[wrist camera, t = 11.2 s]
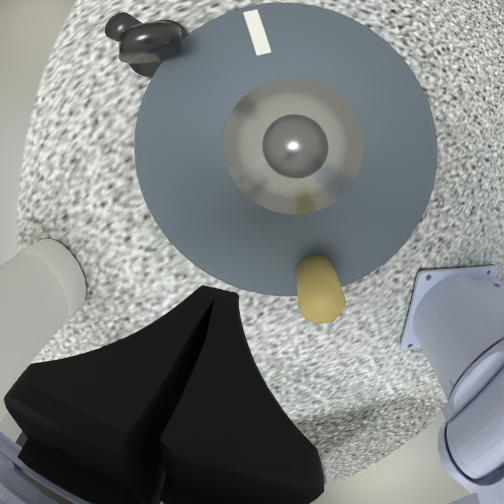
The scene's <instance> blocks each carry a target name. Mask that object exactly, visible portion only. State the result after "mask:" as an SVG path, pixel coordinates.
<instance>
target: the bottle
mask: <svg viewBox="0 0 504 504" xmlns="http://www.w3.org/2000/svg"><path fill="white" fill-rule="evenodd" d="M86 291H87V289H86V283H85V277H84V275H83V272H82V270H81V268H80V266H79V263H78V262H77V260H76V259H75V258H74V256H73V255H72V253H71V252H70V251H69V250H68V249H67V248H65V247H64V246H63V245H62V244H61V243H59V242H57V241H54V240H52V239H42V240H40V241H38V242H37V243H35V244H32V245H30V246H28V247H26V248H25V249H24V250H22V251H21V252H20V253H19V254H18V255H16V256H15V257H13V258H12V259H10V260H9V261H7V262H6V263H4V264H3V265H1V266H0V401H1V400H2V398H3V397H4V396H5V394H6V393H7V392H8V390H9V389H10V388H11V386H12V385H13V384H14V383H15V381H16V380H17V379H18V378H19V376H20V375H21V374H22V373H23V371H24V370H25V369H26V368H27V366H28V365H29V364H30V363H31V362H32V360H33V359H34V358H35V357H36V356H37V354H38V353H39V352H40V351H41V350H42V349H43V347H44V346H45V345H46V344H47V343H48V342H49V341H50V339H51V338H52V337H53V336H54V335H55V334H56V333H57V332H58V330H59V329H60V328H61V327H62V326H63V325H64V324H66V323H67V322H68V321H69V320H70V319H71V318H72V317H73V315H74V314H75V313H76V311H77V310H78V309H79V308H80V307H81V305H82V304H83V302H84V301H85V298H86Z"/></svg>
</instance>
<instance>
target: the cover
mask: <svg viewBox="0 0 504 504" xmlns="http://www.w3.org/2000/svg"><path fill="white" fill-rule="evenodd" d="M223 148H224V156H225V161H226V164H227V167H228V170H229V172H230V174H231V176H232V178H233V180H234V181H235V183H236V184H237V186H238V187H239V188H240V189H241V190H242V191H243V193H244V194H246V195H247V196H248V197H249V198H250V199H251V200H253V201H254V202H256V203H257V204H259V205H261V206H263V207H265V208H267V209H270V210H273V211H276V212H280V213H286V214H305V213H311V212H315V211H318V210H321V209H323V208H325V207H328V206H329V205H331V204H333V203H334V202H336V201H337V200H338V199H340V198H341V197H342V196H343V195H344V194H345V193H346V192H347V191H348V190H349V188H350V187H351V186H352V185H353V183H354V181H355V179H356V178H357V176H358V173H359V171H360V168H361V164H362V161H363V153H364V142H363V135H362V131H361V127H360V124H359V122H358V120H357V117H356V116H355V114H354V112H353V111H352V109H351V108H350V106H349V105H348V104H347V103H346V101H345V100H344V99H343V98H341V97H340V96H339V95H338V94H337V93H336V92H334V91H333V90H331V89H330V88H328V87H326V86H324V85H322V84H320V83H317V82H315V81H311V80H307V79H301V78H282V79H276V80H273V81H269V82H266V83H264V84H262V85H259V86H258V87H256V88H254V89H253V90H251V91H250V92H249V93H247V94H246V95H245V96H244V97H243V98H242V99H241V100H240V101H239V102H238V103H237V105H236V106H235V108H234V109H233V111H232V113H231V115H230V117H229V119H228V121H227V124H226V127H225V132H224V141H223Z"/></svg>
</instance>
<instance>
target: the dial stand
mask: <svg viewBox="0 0 504 504" xmlns="http://www.w3.org/2000/svg"><path fill="white" fill-rule="evenodd" d="M105 34H106V36H107V37H109V38H111V39H113V40H116V41H118V42H119V59H120V60H121V61H122V62H125V63H129V64H130V66H131V68H132V69H133V70H134V71H135V72H136V73H138V74H140V75H143V76H146V77H150V78H152V77H153V75H154V74H155V72H156V71H157V69H158V68H159V66H160V65H161V63H162V62H163V60H164V59H168V58H171V57H173V56H176V55H177V54H179V53H180V52H181V51H182V43H181V41H182V40H183V39H185V38H186V37H187V36H188V35H189V34H188V32H187V31H186V30H185V29H184V28H183V27H182V26H181V25H180V24H179V23H177V22H175V21H172V20H158V21H153V22H146V23H142V22H140V21H139V20H137V19H136V18H134V17H132V16H131V15H129V14H128V13H125V12H122V13H118V14H116V15H114V16H113V17H112V18H111V19H110V20H109V21H108V23H107V24H106V27H105Z"/></svg>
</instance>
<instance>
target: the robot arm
mask: <svg viewBox="0 0 504 504" xmlns="http://www.w3.org/2000/svg"><path fill="white" fill-rule="evenodd" d="M487 271H488V272H487ZM498 271H499V268H498V267H497V266H496V265H492V266H480V267H467V268H453V269H437V270H423V271H420V272H419V273H418V274H417V278H416V283H415V287H414V292H413V296H412V301H411V305H410V309H409V313H408V317H407V321H406V325H405V328H404V332H403V335H402V339H401V342H400V348H401V349H402V350H408V349H414V348H421V347H422V348H423V350H424V352H425V354H426V356H427V358H428V359H429V361H430V363H431V365H432V367H433V370H434V372H435V374H436V376H437V378H438V380H439V382H440V384H441V386H442V388H443V391H444V393H445V395H446V397H447V400H448V403H447V405H446V406H445V407H444V408H443V409H442V411H443V413H444V416H445V418H446V422H444V423H443V425H442V426H441V428H440V431H439V435H438V451H439V456H440V460H441V462H442V464H443V466H444V468H445V470H446V471H447V473H448V474H449V475H450V476H451V477H452V478H453V479H454V480H456V481H457V482H459V483H460V484H462V485H463V486H464V487H465V488H466V489H467V491H468V492H469V493H470V494H471V495H469V496H467V497H464V498H462V499H459V500H456V501H454V502H452V503H450V504H504V284H503V283H502V282H501V281H500V280H499V279H498V278H497V275H498ZM428 275H429V277H428V278H426V277H427V276H428ZM409 344H410V345H409ZM4 403H5V406H6V409H7V410H8V412H9V413H10V415H11V416H12V418H13V419H14V420H15V422H16V423H17V424H18V426H19V427H20V428H21V430H22V431H23V432H24V433H25V435H26V436H27V437H28V439H27V441H26V443H25V445H24V446H23V448H22V447H20V446H19V445H17V444H16V443H15V442H14V441H12V440H11V439H10V438H8V437H7V436H6V435H4V434H3V433H2V432H1V431H0V504H60V503H59V502H57V501H56V500H54V499H53V498H51V497H50V496H48V495H47V494H45V493H44V492H43V491H42V490H40V489H39V488H37V487H36V486H35V485H33V484H32V483H30V482H29V481H27V480H26V479H25V478H24V475H23V472H25V473H26V474H28V475H29V476H31V477H32V478H33V479H35V480H36V481H38V482H39V483H41V484H43V485H44V486H46V487H47V488H49V489H50V490H52V491H54V492H55V493H57V494H59V495H60V496H62V497H64V498H66V499H68V500H69V501H71V502H73V503H75V504H160V502H161V501H162V502H163V504H309V503H311V502H312V501H314V500H315V499H317V498H318V497H319V496H320V495H321V494H322V493H323V492H324V475H323V470H322V465H321V461H320V457H319V454H318V450H317V448H316V447H315V446H314V445H313V444H312V443H311V442H310V441H309V440H308V439H307V438H306V437H305V436H304V435H303V434H302V433H301V431H300V430H299V429H298V428H297V427H296V426H295V425H294V423H293V422H292V421H291V420H290V418H289V417H288V416H287V414H286V413H285V412H284V411H283V409H282V408H281V406H280V405H279V403H278V402H277V400H276V399H275V397H274V396H273V394H272V393H271V391H270V390H269V388H268V386H267V385H266V383H265V381H264V379H263V377H262V376H261V374H260V372H259V370H258V368H257V365H256V363H255V361H254V359H253V356H252V354H251V351H250V349H249V346H248V343H247V340H246V337H245V334H244V330H243V326H242V322H241V317H240V311H239V295H238V294H237V293H235V292H230V291H226V290H221V289H217V288H213V287H208V286H204V285H202V286H200V287H199V288H198V289H197V290H195V291H194V292H193V293H192V294H191V295H190V296H188V297H187V298H186V299H185V300H184V301H182V302H181V303H180V304H178V305H177V306H176V307H174V308H173V309H172V310H170V311H169V312H168V313H166V314H165V315H163V316H162V317H160V318H159V319H157V320H156V321H154V322H153V323H151V324H150V325H148V326H146V327H145V328H143V329H141V330H139V331H137V332H136V333H134V334H132V335H130V336H128V337H126V338H124V339H121V340H119V341H116V342H114V343H111V344H109V345H106V346H104V347H101V348H99V349H96V350H93V351H90V352H86V353H83V354H79V355H76V356H72V357H68V358H63V359H58V360H52V361H46V362H40V363H32V364H30V365H29V366H28V367H27V369H26V370H25V371H24V372H23V373H22V374H21V376H20V377H19V378H18V379H17V381H16V382H15V383H14V385H13V386H12V387H11V389H10V390H9V391H8V393H7V394H6V395H5V397H4ZM21 470H22V471H23V472H22V471H21Z"/></svg>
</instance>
